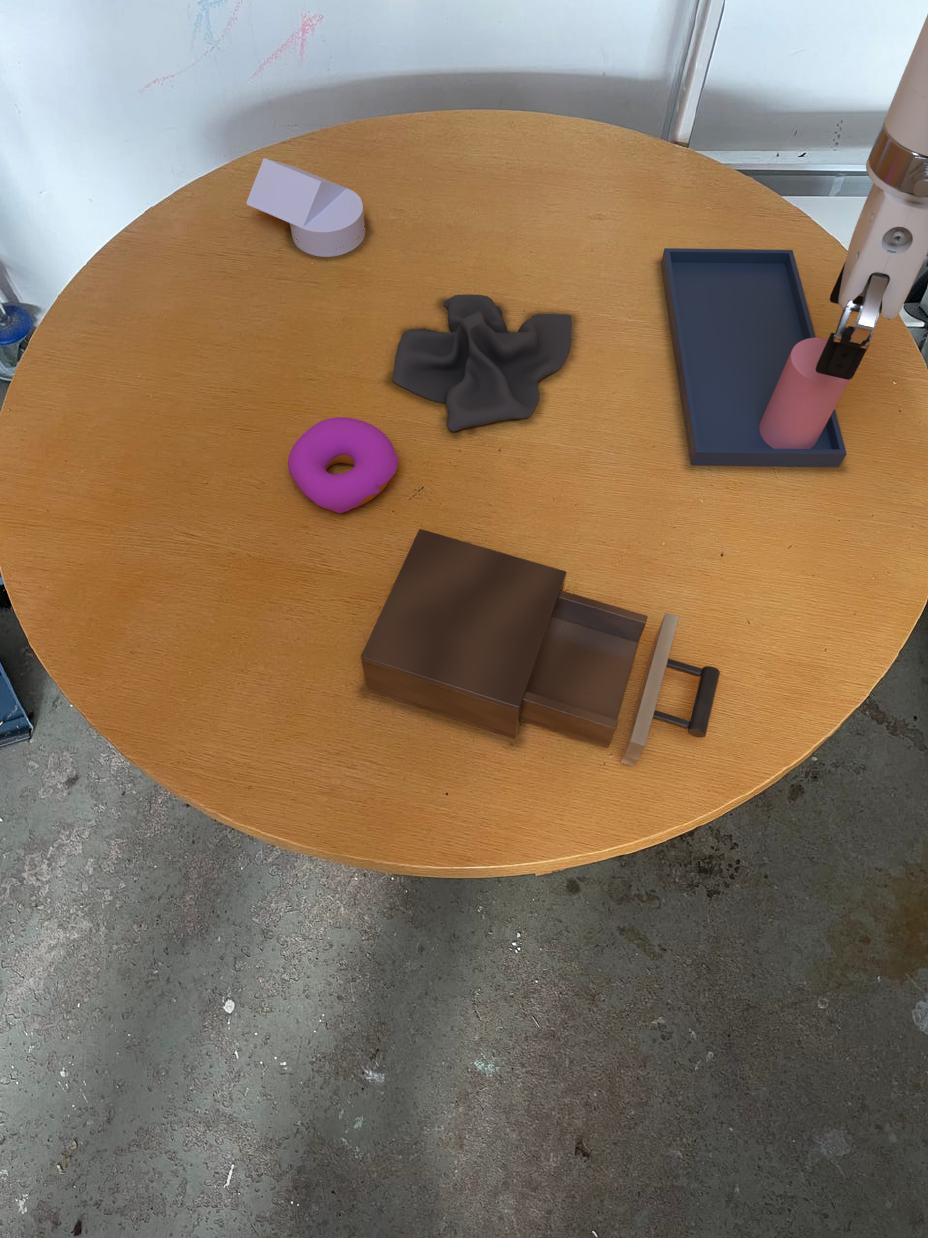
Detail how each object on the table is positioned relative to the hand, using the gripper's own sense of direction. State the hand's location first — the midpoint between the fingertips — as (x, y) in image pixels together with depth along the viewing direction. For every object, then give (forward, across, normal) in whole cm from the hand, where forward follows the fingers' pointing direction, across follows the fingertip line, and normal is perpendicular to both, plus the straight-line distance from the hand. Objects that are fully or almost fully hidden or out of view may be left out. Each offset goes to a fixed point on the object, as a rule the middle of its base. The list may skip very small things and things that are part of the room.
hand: (839, 337), depth 79 cm
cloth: (+14, +1, +34) cm, 37 cm away
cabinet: (+14, -34, +24) cm, 44 cm away
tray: (+14, +10, +7) cm, 18 cm away
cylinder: (+13, +1, +1) cm, 13 cm away
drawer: (+13, -34, +11) cm, 38 cm away
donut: (+14, -20, +42) cm, 48 cm away
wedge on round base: (+13, +15, +61) cm, 64 cm away
